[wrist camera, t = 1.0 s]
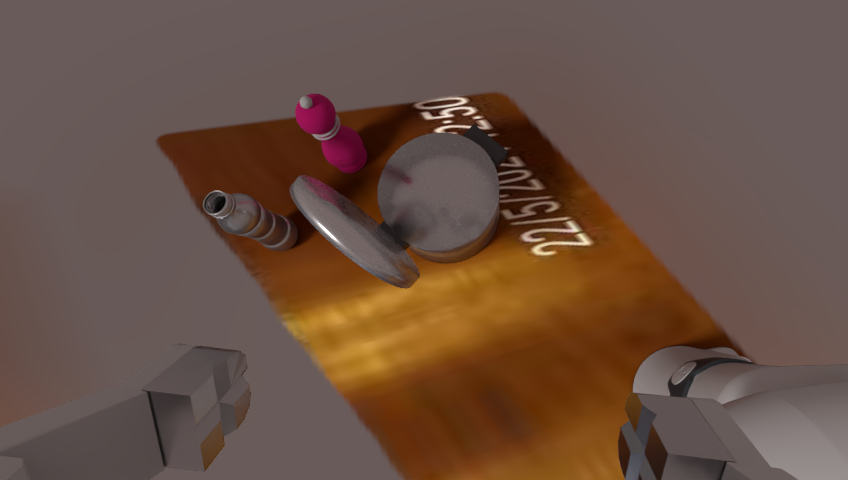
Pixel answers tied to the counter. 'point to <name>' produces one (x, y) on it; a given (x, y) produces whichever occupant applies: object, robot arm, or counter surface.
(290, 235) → the silver metal bottle
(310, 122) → the pepper mill
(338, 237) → the cooker lid
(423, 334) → the counter surface
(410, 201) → the cooker pot
